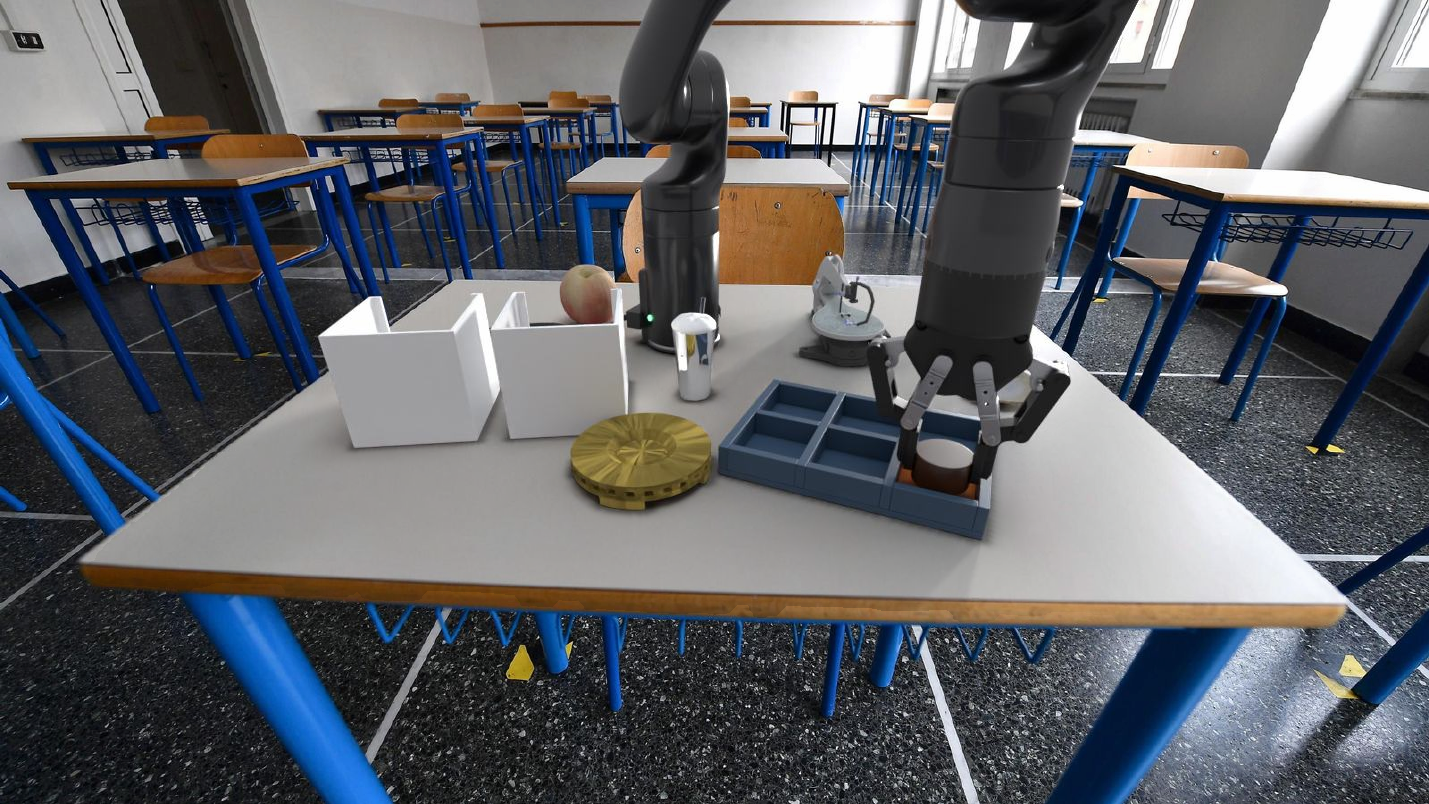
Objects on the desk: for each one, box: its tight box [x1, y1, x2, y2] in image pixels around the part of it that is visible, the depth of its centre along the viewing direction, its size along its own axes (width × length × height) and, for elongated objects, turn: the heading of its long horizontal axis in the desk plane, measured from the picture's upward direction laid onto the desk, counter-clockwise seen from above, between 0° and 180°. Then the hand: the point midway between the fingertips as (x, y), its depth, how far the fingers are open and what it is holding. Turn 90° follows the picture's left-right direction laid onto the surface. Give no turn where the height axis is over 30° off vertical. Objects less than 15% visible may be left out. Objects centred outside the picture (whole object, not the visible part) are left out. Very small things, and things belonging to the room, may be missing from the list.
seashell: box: [998, 371, 1032, 405], centre depth 64 cm, size 8×3×8 cm
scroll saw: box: [798, 254, 892, 367], centre depth 77 cm, size 20×11×12 cm
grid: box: [717, 379, 993, 541], centre depth 53 cm, size 21×14×3 cm
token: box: [911, 439, 974, 495], centre depth 47 cm, size 4×4×2 cm
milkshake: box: [671, 297, 716, 402], centre depth 63 cm, size 4×5×10 cm
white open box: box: [317, 288, 629, 449], centre depth 59 cm, size 25×11×11 cm, turn 97°
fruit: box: [559, 264, 618, 325], centre depth 83 cm, size 8×8×8 cm
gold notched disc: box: [570, 412, 712, 511], centre depth 52 cm, size 12×12×2 cm
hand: (940, 470), depth 47 cm, fingers closed on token, 4 cm apart
